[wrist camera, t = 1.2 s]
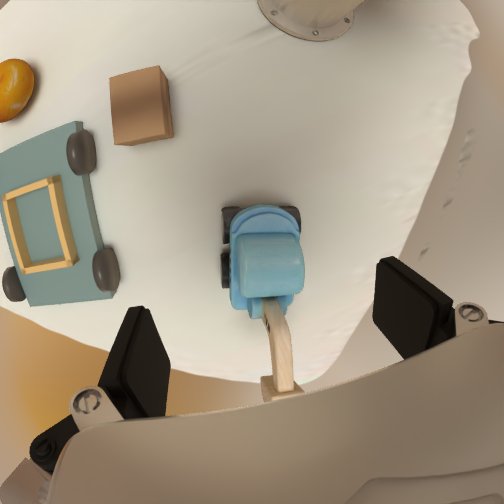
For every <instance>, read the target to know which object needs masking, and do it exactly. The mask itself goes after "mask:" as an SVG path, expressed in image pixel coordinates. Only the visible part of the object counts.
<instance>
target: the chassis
mask: <svg viewBox="0 0 504 504" xmlns="http://www.w3.org/2000/svg"><path fill="white" fill-rule="evenodd" d="M95 164H96V150H95V145H94V141H93V138H92V136H91V134H90V133H89V132H88V131H87V130H83V122H79V121H74V122H71V123H68V124H65V125H63V126H60V127H57V128H55V129H52V130H50V131H47V132H45V133H43V134H40V135H38V136H36V137H33V138H31V139H29V140H27V141H25V142H22V143H20V144H18V145H16V146H14V147H12V148H10V149H8V150H6V151H4V152H2V153H0V213H1V217H2V222H3V226H4V230H5V234H6V238H7V242H8V245H9V249H10V252H11V255H12V259H13V262H14V265H15V266H13V267H9V268H7V269H6V270H5V272H4V274H3V278H2V285H3V290H4V293H5V295H6V297H7V298H8V299H9V300H10V301H12V302H18V301H23V300H25V298H27V300H28V303H29V305H30V307H32V306H43V305H54V304H64V303H74V302H84V301H93V300H103V299H112V298H113V296H114V295H115V293H116V290H117V288H118V286H119V280H120V273H119V266H118V261H117V258H116V256H115V254H114V252H113V251H112V250H111V249H104V246H103V242H102V238H101V234H100V230H99V226H98V221H97V217H96V212H95V207H94V202H93V197H92V192H91V186H90V180H89V174H88V173H91V172H92V171H93V170H94V168H95Z"/></svg>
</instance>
